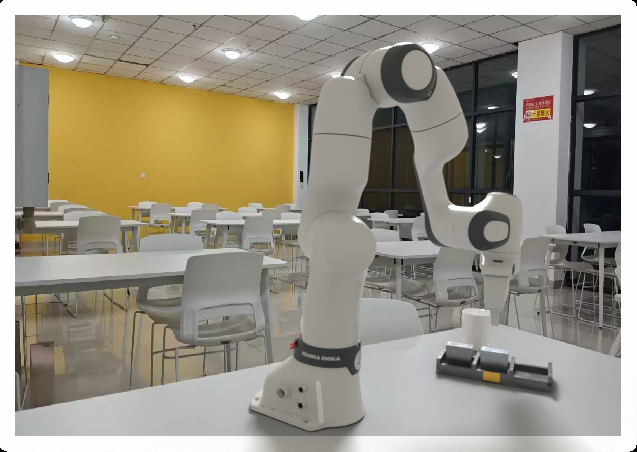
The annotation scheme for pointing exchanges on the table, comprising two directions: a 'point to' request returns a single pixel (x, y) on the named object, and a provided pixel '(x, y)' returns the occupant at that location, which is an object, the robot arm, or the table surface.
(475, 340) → the white cup
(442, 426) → the table surface
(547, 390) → the rack
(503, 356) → the grey upright block
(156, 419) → the table surface
